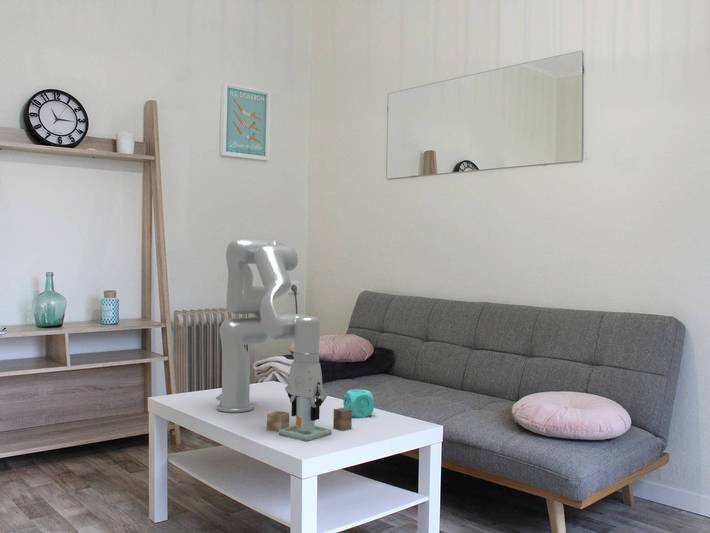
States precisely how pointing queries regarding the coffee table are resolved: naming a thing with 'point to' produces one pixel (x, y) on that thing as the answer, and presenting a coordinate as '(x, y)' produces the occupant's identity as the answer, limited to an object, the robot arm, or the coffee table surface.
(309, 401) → the skincare box
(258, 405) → the coffee table surface
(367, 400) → the decorative dice
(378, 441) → the coffee table surface
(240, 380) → the robot arm
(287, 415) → the oak cube
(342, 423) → the walnut block
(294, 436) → the tray
